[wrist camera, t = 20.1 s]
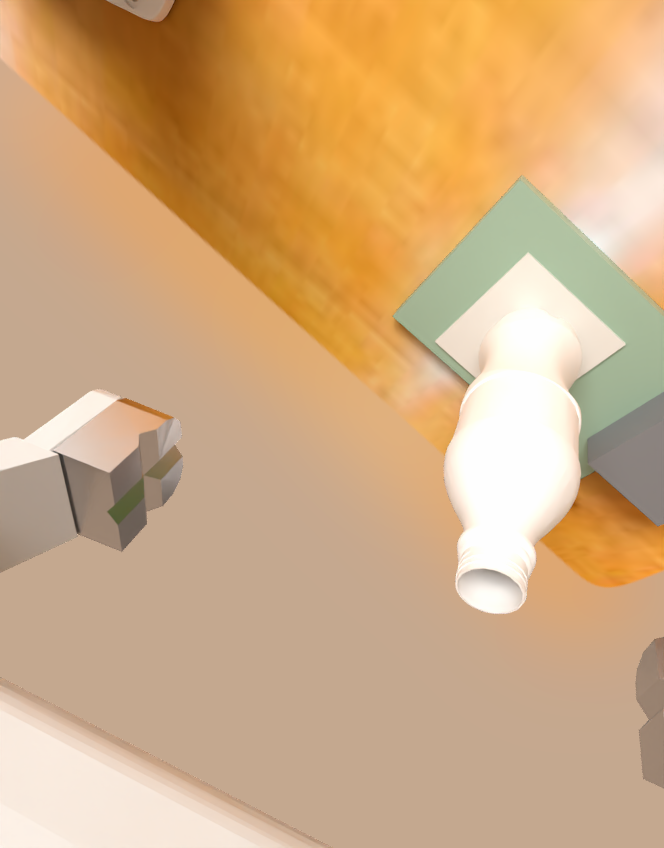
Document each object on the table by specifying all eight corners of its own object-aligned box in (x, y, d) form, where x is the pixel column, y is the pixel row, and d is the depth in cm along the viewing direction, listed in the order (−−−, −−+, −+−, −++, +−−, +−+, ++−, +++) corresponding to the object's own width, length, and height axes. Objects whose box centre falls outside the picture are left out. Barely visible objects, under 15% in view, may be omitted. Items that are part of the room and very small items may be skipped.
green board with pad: (397, 309, 47) (380, 334, 43) (522, 174, 38) (515, 190, 34) (616, 504, 50) (619, 543, 46) (780, 422, 41) (800, 462, 37)
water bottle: (492, 386, 46) (428, 637, 27) (476, 307, 43) (390, 528, 24) (586, 376, 43) (588, 654, 24) (576, 289, 39) (570, 530, 20)
